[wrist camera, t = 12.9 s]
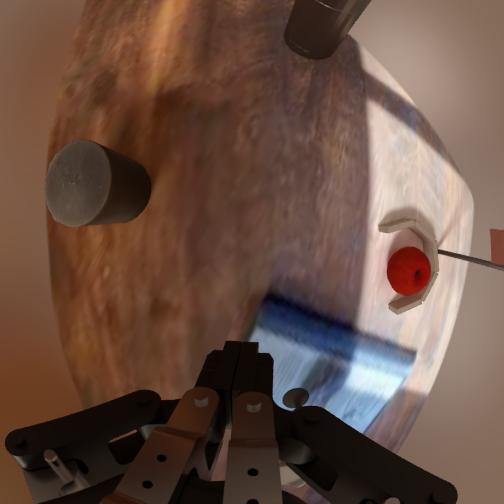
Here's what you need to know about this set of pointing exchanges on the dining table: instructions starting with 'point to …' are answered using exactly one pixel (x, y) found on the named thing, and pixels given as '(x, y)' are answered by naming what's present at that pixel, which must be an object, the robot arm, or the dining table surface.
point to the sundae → (295, 398)
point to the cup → (500, 258)
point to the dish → (289, 476)
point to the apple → (408, 270)
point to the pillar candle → (95, 186)
